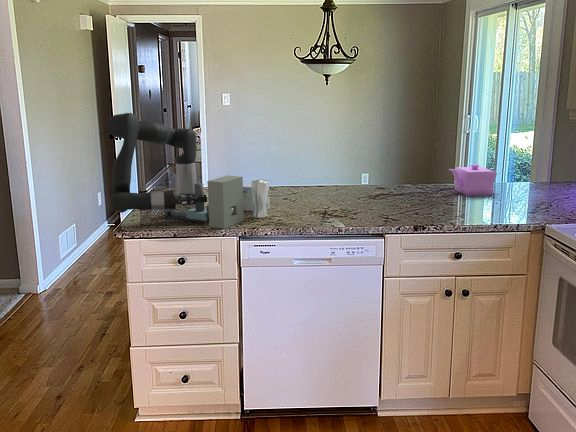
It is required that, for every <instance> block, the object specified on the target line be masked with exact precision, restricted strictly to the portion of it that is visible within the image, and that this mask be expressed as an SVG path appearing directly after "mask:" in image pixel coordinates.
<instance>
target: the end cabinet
mask: <svg viewBox="0 0 576 432" xmlns="http://www.w3.org/2000/svg"><path fill="white" fill-rule="evenodd" d="M243 183H244V182H243V176H240V175H239V176H238V175H228V174H227V175H224V176H221V177H217V178H214V179H209V180H207V205H208V207H209V223H208V224H209V225H208V226H209V228H217V229H221V230H222V229H224V230H225V229H227V228H229V227H232V226H234V225H237V224H239V223H242V222H244V221H245V219H244V218H245V216H244V215H245V214H244V211H245V210H243V186H244V185H243ZM231 207H233V208H234V210H235V211H234V214H231Z"/></svg>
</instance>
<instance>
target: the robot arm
mask: <svg viewBox="0 0 576 432" xmlns="http://www.w3.org/2000/svg"><path fill="white" fill-rule="evenodd" d="M106 129H107V131H108V132H109V134H110V135H111V136H113V137H115V138H116V139H117V138H118V139H119V138H123V142H122V146H121V149H120V151H119V152H118V154H117V157H116V159H115V160H114V163H113V167H112V177H111V179H112V180H111V182H112V195H111V197H110V199H109V203H110V206H111V207H112V209H113V210H114V211H115V212H116V213H119V214H120V213H121V214H123V213H125V212H127V211H128V210H139V211H165V210H170V209H175V210H176V208H177V206H176V205H180V206H181V207H186V206H193V205H195V204H196V203H199V202H204V203H208V196H207V194H205V193H204V197H198V198H197V197H195V189H194V184H197V170H196V169H197V168H196V167H197V166H196V158H197V135H196V132H195V130H193V129H192V128H168V127H167V125H165V124H163V123H161V122H158V121H157V122H156V121H152V120H139V119H138V117H137V116H136V115H135V114H134V113H132V112H124V113H120V114H118V113H117V114H114V115H112V116H111V117H109V118H108V119H107V122H106ZM137 140H138V141H143V142H146V143H150V144H155V145H157V144H158V145H163V144H164V145H167V146H170V147H173V148H176V149H183V153H182V154H180V155H177V156H176V157H175V172H176V178H175V179H174V184H175V186H174V187H175V189H174V190H159V191H157V190H156V191H152V192H150V191H149V192H148V191H147V192H131V182H132V181H131V180H132V164H133V159H134V153H135V149H136V146H137V145H136V144H137Z"/></svg>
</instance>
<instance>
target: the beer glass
mask: <svg viewBox="0 0 576 432" xmlns="http://www.w3.org/2000/svg"><path fill="white" fill-rule="evenodd" d="M268 182H269V181H268V180H267V179H253V180H251V184H252V185H251V194H252V200H253V205H254V211H253V213H252V217H253V218H256V219H264V218H267V217H268V210H267V200H268V185H269V183H268Z"/></svg>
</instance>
